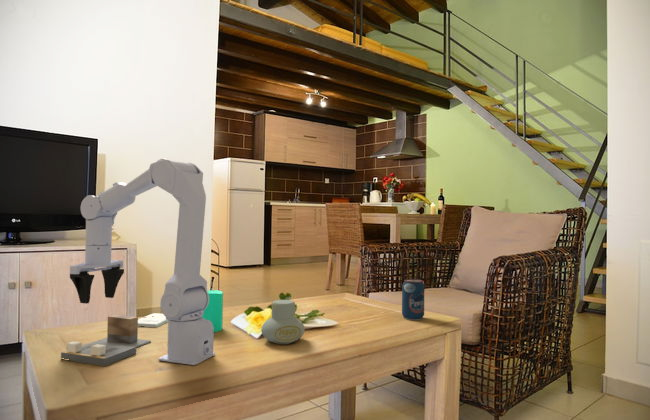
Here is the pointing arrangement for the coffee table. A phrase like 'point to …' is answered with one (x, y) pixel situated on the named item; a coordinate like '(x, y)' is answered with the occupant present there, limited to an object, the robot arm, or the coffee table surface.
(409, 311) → the soda can
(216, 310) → the candle
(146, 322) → the external hard drive
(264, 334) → the air freshener
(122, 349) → the switch board
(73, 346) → the tab
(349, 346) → the coffee table surface
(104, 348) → the tab
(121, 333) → the bar
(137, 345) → the tool pad
